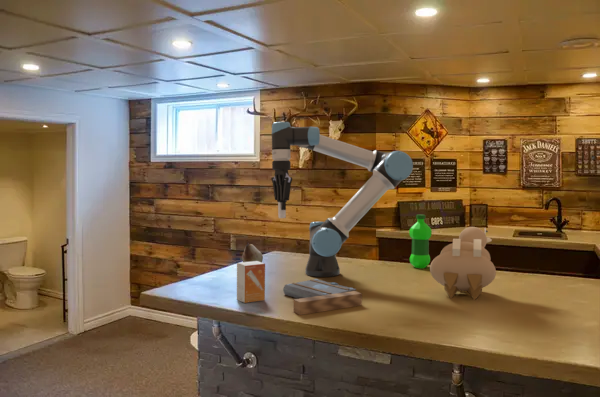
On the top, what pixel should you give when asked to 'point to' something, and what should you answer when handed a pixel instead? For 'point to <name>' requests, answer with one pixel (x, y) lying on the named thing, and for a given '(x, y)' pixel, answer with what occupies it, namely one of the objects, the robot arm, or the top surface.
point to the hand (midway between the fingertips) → (282, 217)
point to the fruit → (251, 254)
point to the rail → (327, 302)
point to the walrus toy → (465, 264)
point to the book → (314, 289)
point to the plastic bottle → (420, 243)
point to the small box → (250, 281)
